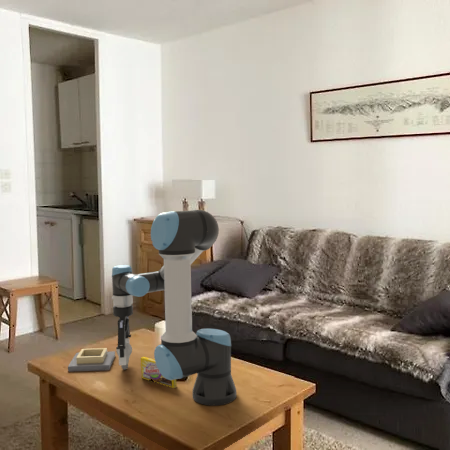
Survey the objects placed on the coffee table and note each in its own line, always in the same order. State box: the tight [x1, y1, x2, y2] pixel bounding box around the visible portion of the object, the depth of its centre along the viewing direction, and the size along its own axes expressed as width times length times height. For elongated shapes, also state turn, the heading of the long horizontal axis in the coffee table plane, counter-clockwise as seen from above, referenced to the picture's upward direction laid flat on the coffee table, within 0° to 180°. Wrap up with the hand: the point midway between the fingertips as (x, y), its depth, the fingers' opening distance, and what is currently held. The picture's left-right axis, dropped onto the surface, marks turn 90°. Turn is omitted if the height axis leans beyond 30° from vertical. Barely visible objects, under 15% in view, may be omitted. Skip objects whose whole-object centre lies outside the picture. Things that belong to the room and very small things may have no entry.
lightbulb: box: [115, 342, 133, 371], centre depth 206 cm, size 6×6×11 cm
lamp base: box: [67, 347, 116, 372], centre depth 213 cm, size 16×16×4 cm
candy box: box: [140, 356, 178, 389], centre depth 193 cm, size 16×2×8 cm, turn 54°
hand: (124, 359), depth 206 cm, fingers open, 11 cm apart
